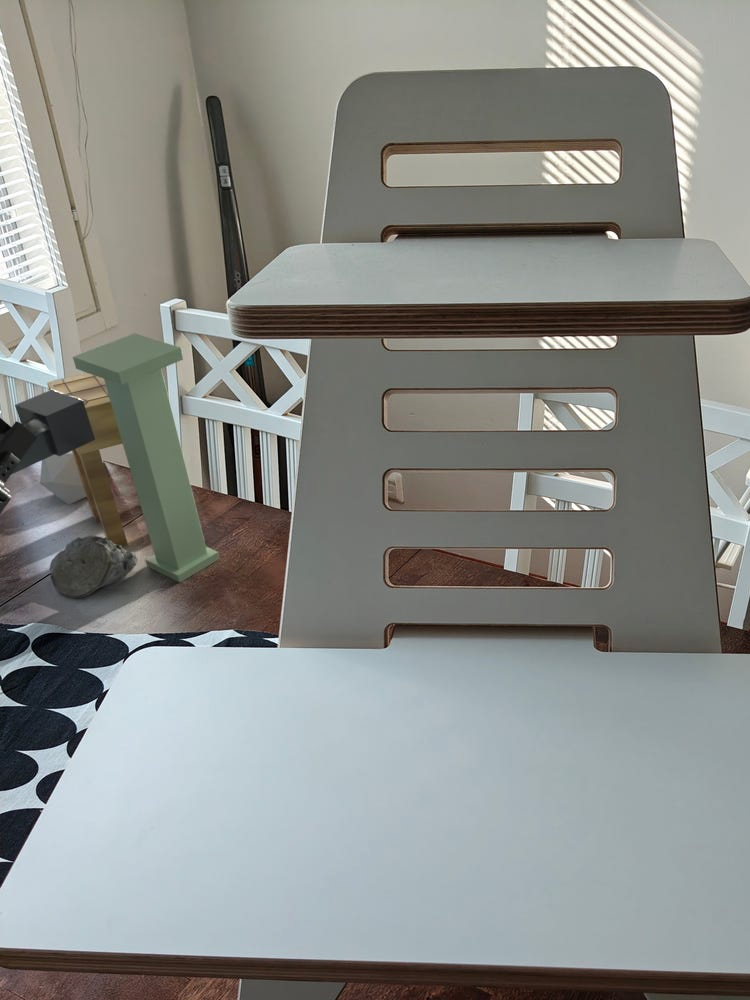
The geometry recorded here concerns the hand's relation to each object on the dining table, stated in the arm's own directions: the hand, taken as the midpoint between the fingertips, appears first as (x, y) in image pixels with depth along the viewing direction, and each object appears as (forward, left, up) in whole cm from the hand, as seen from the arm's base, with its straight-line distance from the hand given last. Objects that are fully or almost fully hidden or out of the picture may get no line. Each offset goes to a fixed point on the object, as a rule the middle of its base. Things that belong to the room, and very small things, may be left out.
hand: (14, 425), depth 109 cm
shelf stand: (-5, +15, -27) cm, 31 cm away
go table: (-20, +13, -27) cm, 36 cm away
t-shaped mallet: (0, -1, -4) cm, 4 cm away
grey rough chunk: (-8, +4, -27) cm, 28 cm away
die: (-34, +7, -27) cm, 44 cm away
